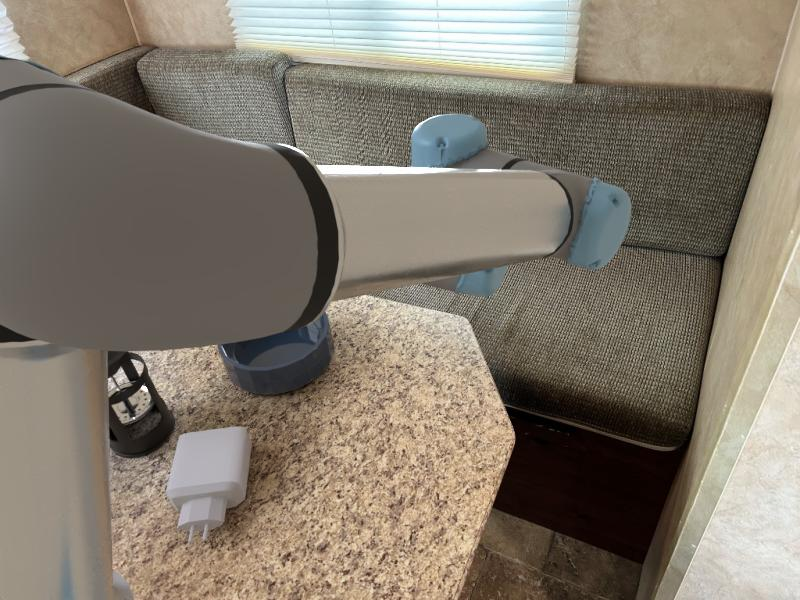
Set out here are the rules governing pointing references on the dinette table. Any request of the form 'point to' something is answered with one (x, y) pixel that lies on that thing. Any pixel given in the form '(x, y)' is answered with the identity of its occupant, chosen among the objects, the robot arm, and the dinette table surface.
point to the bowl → (280, 358)
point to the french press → (135, 408)
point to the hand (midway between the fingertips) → (224, 210)
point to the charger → (208, 477)
